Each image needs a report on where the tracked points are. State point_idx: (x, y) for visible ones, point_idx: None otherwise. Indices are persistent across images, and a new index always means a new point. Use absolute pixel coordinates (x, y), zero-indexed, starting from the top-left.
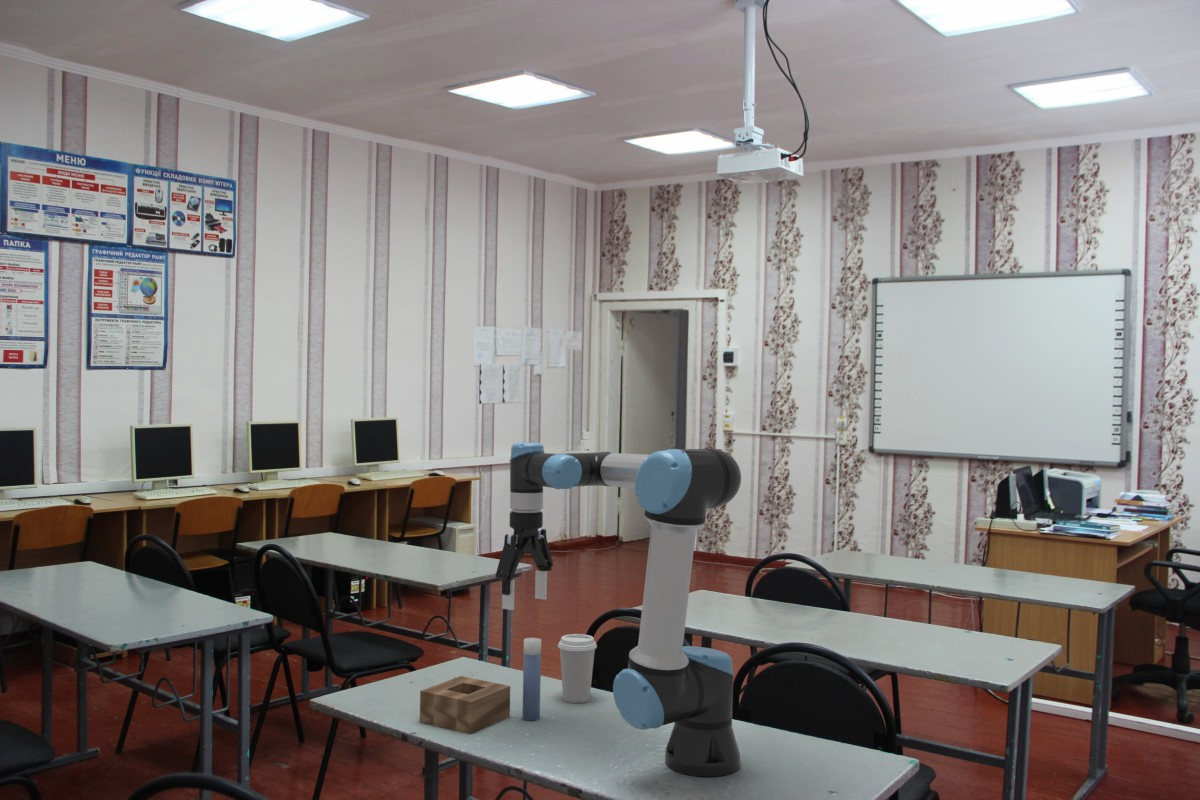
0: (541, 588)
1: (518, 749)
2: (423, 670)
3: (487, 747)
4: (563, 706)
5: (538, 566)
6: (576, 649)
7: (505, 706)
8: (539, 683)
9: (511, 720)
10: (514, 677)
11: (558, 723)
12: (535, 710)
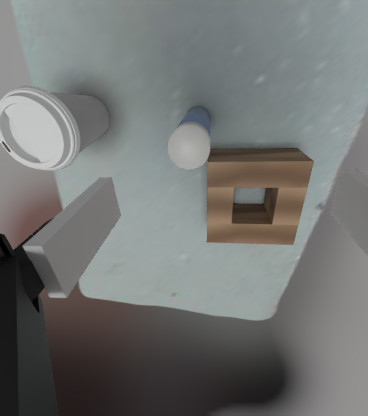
0: (97, 212)
1: (332, 42)
2: (138, 303)
3: (340, 92)
4: (128, 112)
5: (37, 308)
6: (65, 109)
7: (219, 153)
8: (192, 113)
9: (220, 137)
10: None
11: (194, 67)
12: (202, 109)
